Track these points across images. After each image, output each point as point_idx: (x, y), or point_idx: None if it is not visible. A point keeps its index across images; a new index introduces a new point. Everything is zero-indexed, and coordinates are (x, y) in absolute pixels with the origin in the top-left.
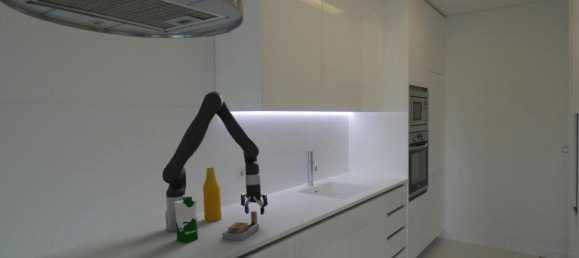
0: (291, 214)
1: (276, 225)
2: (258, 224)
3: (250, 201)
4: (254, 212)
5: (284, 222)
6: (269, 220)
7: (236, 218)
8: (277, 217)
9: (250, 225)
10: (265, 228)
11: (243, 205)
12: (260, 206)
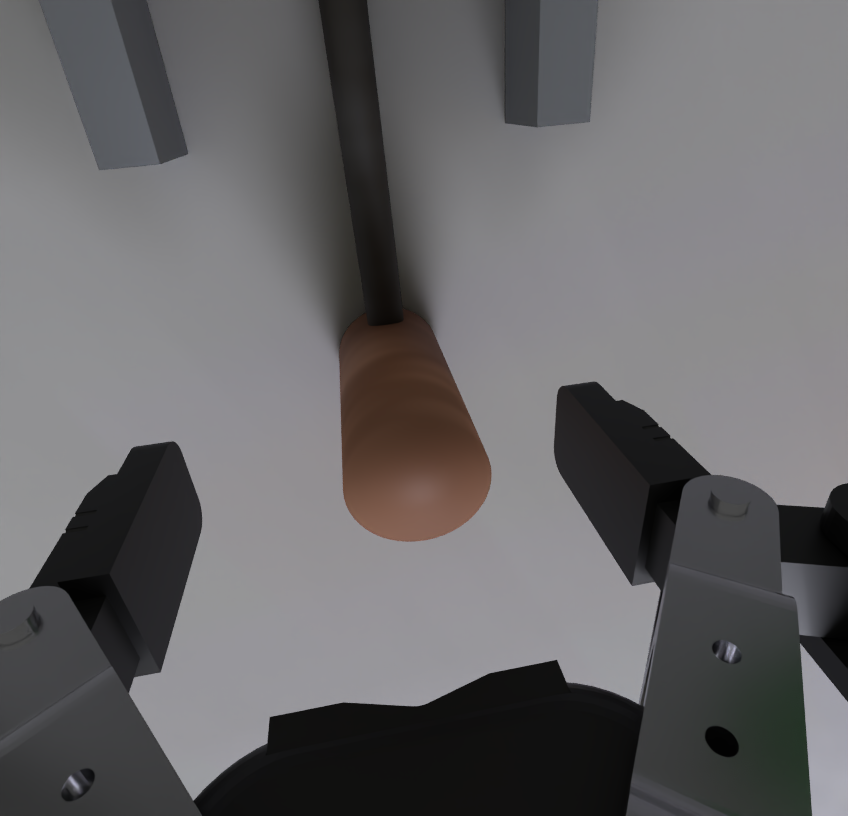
0: (191, 789)
1: (2, 442)
2: (97, 152)
3: (576, 710)
4: (362, 444)
5: (16, 586)
6: (289, 572)
7: (772, 479)
8: (271, 680)
9: (344, 168)
10: (40, 233)
11: (796, 513)
12: (72, 613)
